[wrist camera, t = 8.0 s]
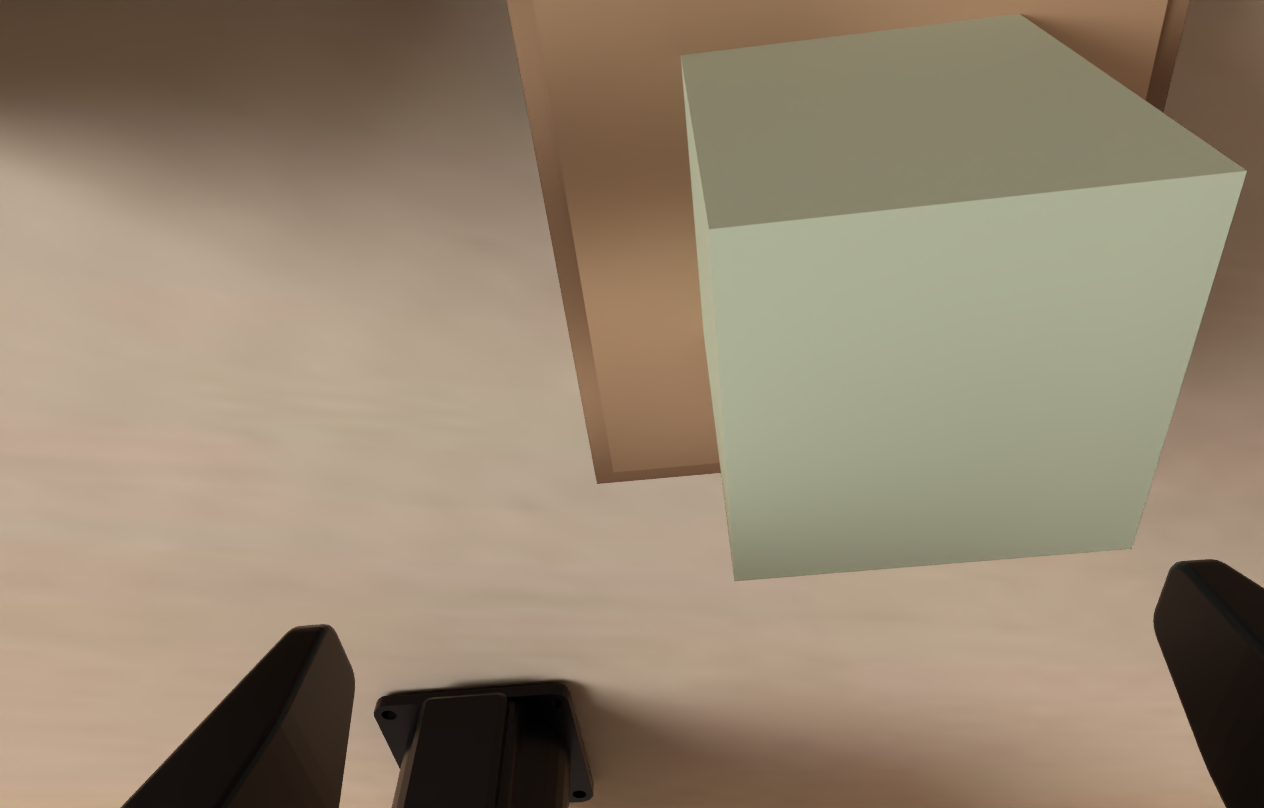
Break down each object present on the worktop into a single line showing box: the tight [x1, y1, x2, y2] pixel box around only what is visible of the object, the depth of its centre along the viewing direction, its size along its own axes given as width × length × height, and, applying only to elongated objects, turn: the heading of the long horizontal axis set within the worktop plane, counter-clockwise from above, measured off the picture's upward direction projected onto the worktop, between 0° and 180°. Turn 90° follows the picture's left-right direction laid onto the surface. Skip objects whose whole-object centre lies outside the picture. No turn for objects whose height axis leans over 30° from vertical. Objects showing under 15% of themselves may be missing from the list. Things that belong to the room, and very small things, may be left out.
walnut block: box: [507, 0, 1190, 484], centre depth 16 cm, size 12×10×4 cm
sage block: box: [681, 14, 1247, 581], centre depth 12 cm, size 5×5×6 cm
